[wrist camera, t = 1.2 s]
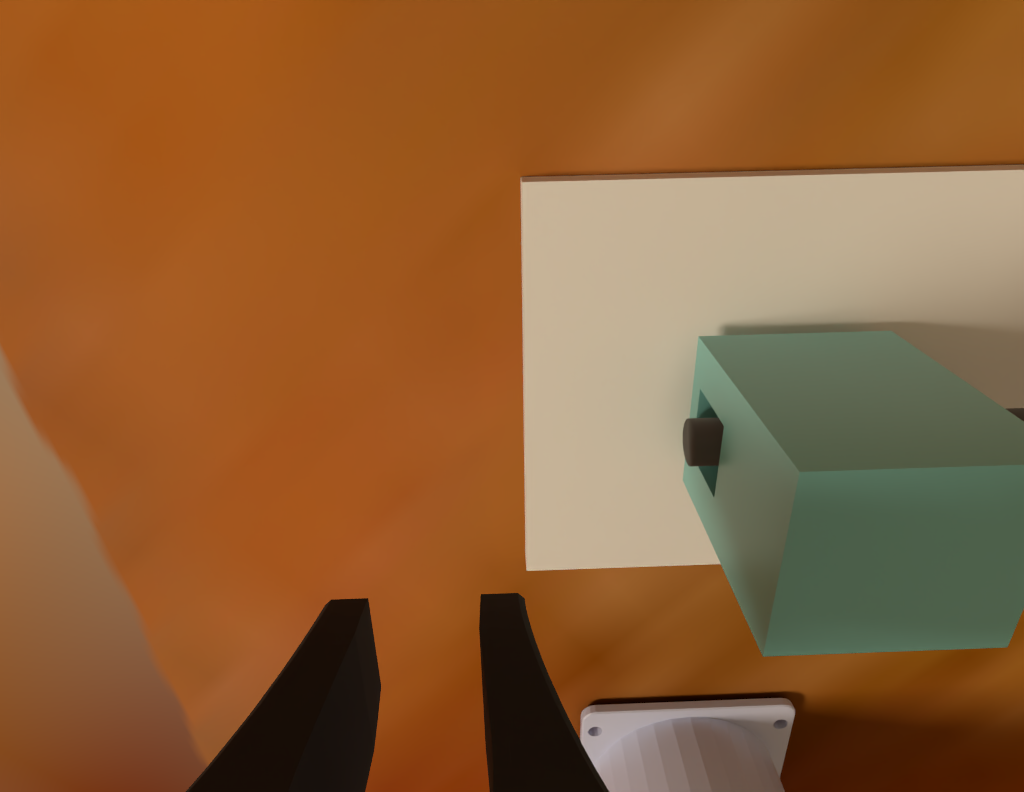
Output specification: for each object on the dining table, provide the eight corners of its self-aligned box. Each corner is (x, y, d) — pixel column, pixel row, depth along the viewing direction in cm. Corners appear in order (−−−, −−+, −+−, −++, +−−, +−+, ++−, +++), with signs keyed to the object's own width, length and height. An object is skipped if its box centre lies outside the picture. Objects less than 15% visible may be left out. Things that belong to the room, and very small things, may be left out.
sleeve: (855, 474, 20) (1007, 647, 14) (682, 480, 20) (762, 656, 14) (891, 330, 18) (1083, 462, 12) (698, 336, 18) (799, 471, 12)
